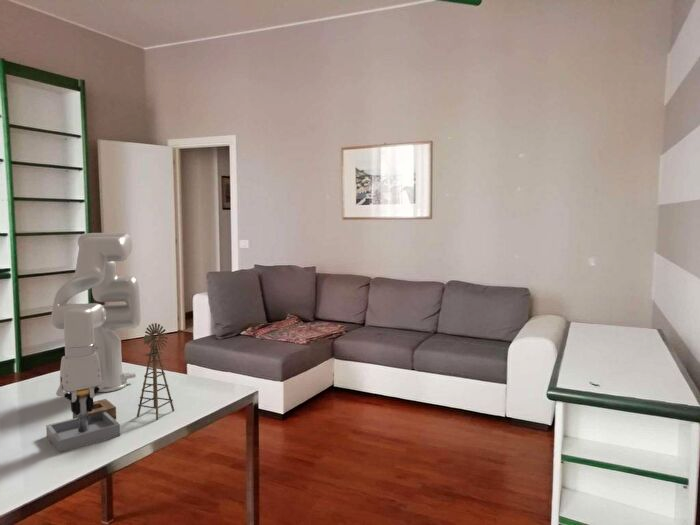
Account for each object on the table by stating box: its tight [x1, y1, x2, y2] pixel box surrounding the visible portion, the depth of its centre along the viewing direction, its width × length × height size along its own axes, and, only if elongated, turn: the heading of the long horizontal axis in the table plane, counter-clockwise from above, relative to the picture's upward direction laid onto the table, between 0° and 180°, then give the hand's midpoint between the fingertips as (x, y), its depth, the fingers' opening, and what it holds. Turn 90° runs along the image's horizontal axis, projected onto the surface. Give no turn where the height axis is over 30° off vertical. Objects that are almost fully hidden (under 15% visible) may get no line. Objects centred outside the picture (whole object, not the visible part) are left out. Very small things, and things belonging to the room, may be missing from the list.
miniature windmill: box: [136, 322, 175, 421], centre depth 157 cm, size 9×8×30 cm
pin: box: [76, 388, 90, 432], centre depth 141 cm, size 4×4×12 cm
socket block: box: [72, 398, 117, 423], centre depth 154 cm, size 10×10×4 cm
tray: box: [45, 412, 121, 453], centre depth 142 cm, size 16×14×3 cm
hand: (82, 411), depth 141 cm, fingers closed on pin, 2 cm apart
